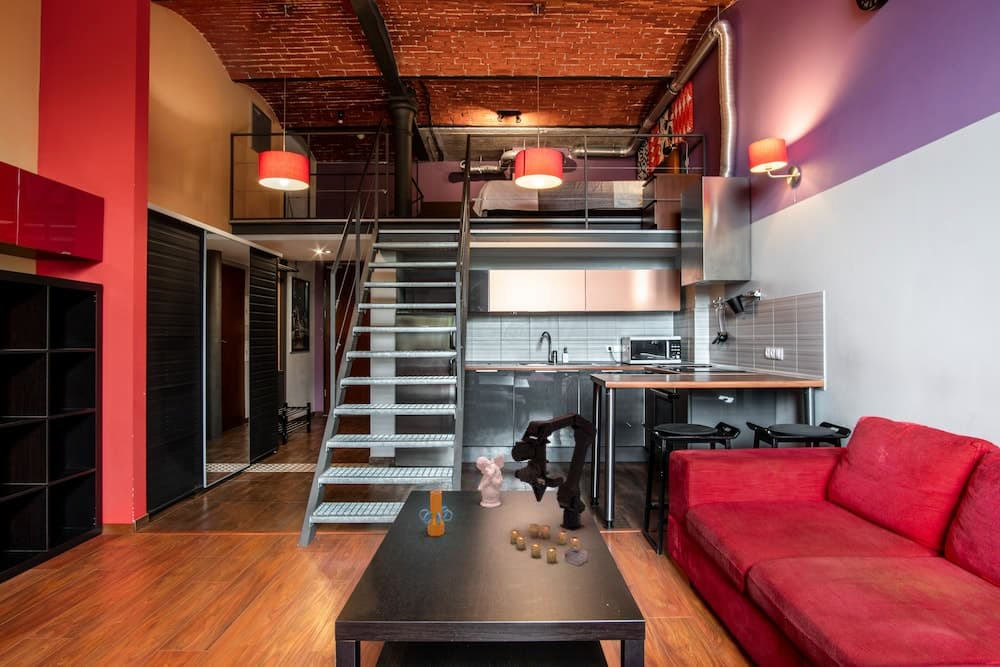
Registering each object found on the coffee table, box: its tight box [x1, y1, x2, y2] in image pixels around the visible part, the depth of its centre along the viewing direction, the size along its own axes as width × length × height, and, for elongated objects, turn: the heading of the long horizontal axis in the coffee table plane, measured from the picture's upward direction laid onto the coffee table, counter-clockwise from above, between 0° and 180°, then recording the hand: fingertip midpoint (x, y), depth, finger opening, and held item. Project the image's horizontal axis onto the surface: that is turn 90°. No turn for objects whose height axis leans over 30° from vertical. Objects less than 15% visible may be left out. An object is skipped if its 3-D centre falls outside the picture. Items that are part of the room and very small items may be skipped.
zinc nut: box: [564, 547, 588, 567], centre depth 160 cm, size 5×5×3 cm
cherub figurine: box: [476, 453, 506, 509], centre depth 217 cm, size 12×12×22 cm
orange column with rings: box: [418, 489, 454, 537], centre depth 183 cm, size 12×10×15 cm
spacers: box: [510, 523, 581, 565], centre depth 171 cm, size 17×22×4 cm
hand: (538, 501), depth 179 cm, fingers closed
